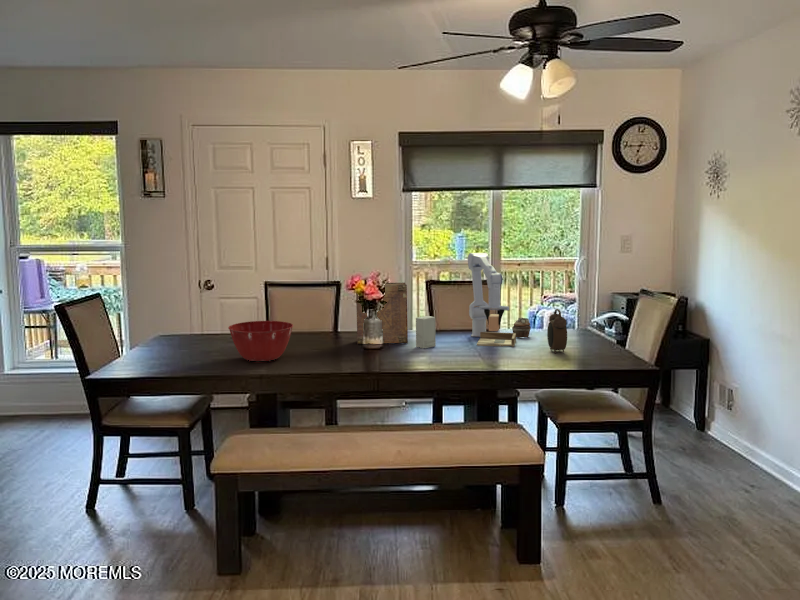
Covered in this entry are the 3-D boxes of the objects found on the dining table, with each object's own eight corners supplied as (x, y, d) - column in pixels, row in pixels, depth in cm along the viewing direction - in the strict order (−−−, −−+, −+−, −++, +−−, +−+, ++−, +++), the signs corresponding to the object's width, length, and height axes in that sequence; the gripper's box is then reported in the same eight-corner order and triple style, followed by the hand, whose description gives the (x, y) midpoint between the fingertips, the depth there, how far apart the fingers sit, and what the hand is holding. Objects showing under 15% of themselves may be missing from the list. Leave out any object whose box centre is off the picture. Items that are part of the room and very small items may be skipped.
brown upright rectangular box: (406, 340, 332) (405, 282, 328) (407, 343, 323) (407, 284, 319) (357, 341, 330) (356, 283, 327) (357, 344, 321) (356, 285, 317)
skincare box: (428, 344, 319) (427, 315, 317) (436, 346, 315) (436, 316, 313) (415, 347, 314) (415, 317, 312) (423, 349, 309) (423, 318, 307)
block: (488, 330, 317) (488, 316, 316) (490, 327, 326) (490, 314, 325) (497, 331, 316) (497, 317, 315) (499, 328, 325) (499, 314, 324)
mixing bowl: (306, 358, 291) (305, 324, 289) (252, 369, 271) (250, 333, 269) (271, 350, 310) (270, 318, 308) (217, 359, 290) (216, 326, 288)
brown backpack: (544, 348, 307) (545, 307, 304) (560, 348, 307) (560, 307, 304) (552, 355, 292) (553, 311, 290) (568, 355, 293) (569, 311, 290)
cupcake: (516, 334, 345) (516, 316, 344) (533, 336, 340) (533, 317, 338) (508, 337, 338) (508, 318, 336) (525, 339, 332) (526, 319, 331)
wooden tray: (480, 339, 332) (480, 331, 331) (515, 340, 328) (516, 333, 327) (476, 345, 316) (476, 337, 316) (513, 346, 312) (514, 338, 312)
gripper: (478, 298, 317) (478, 325, 319) (508, 298, 313) (508, 326, 315) (480, 296, 324) (480, 323, 325) (509, 296, 320) (509, 323, 322)
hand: (494, 324), depth 321 cm, fingers closed on block, 4 cm apart
